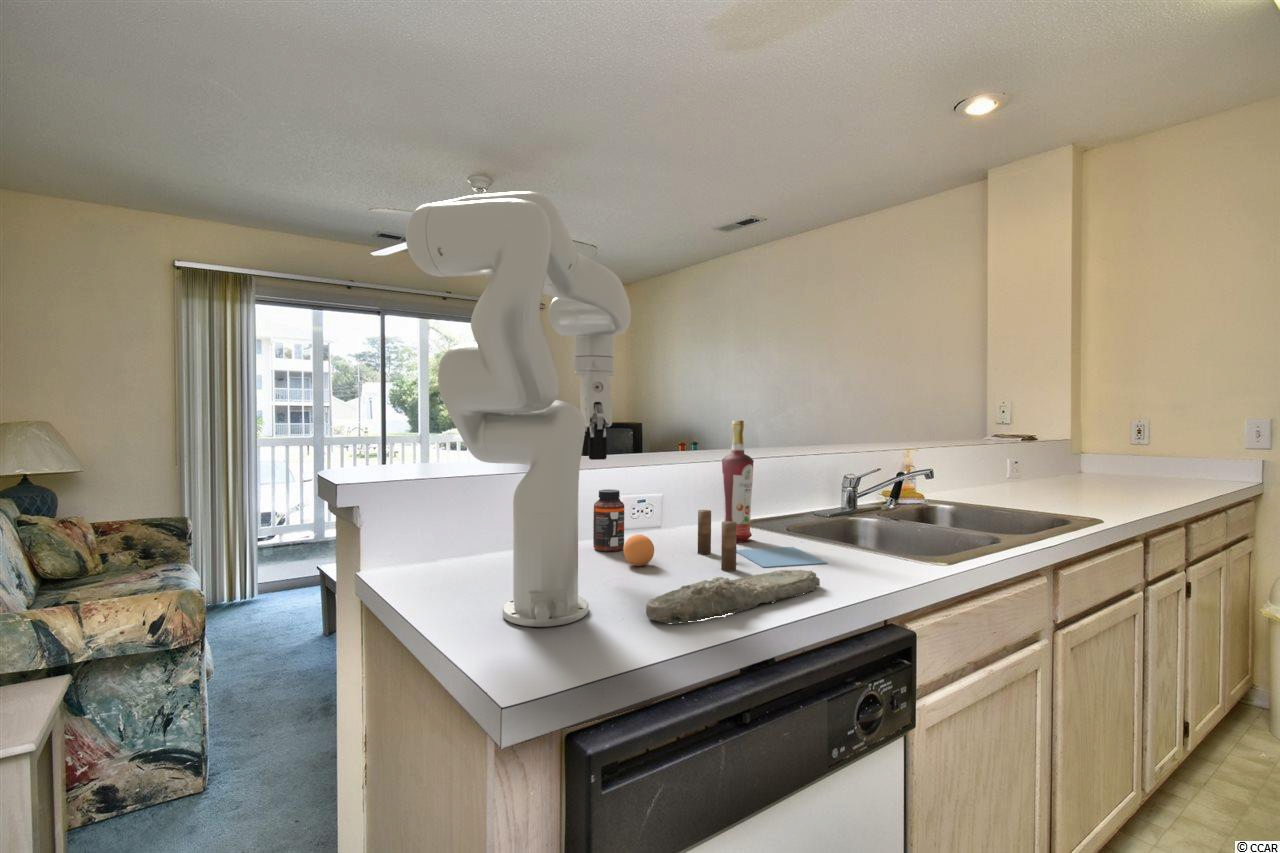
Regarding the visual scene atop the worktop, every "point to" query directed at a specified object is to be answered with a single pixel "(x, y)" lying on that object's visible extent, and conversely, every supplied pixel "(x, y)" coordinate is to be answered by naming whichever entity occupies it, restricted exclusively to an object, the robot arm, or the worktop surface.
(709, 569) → the worktop surface
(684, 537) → the worktop surface
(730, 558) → the post
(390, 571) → the worktop surface
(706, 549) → the post
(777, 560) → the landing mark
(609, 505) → the supplement bottle
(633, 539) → the ball
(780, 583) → the long grey stone
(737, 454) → the liquor
